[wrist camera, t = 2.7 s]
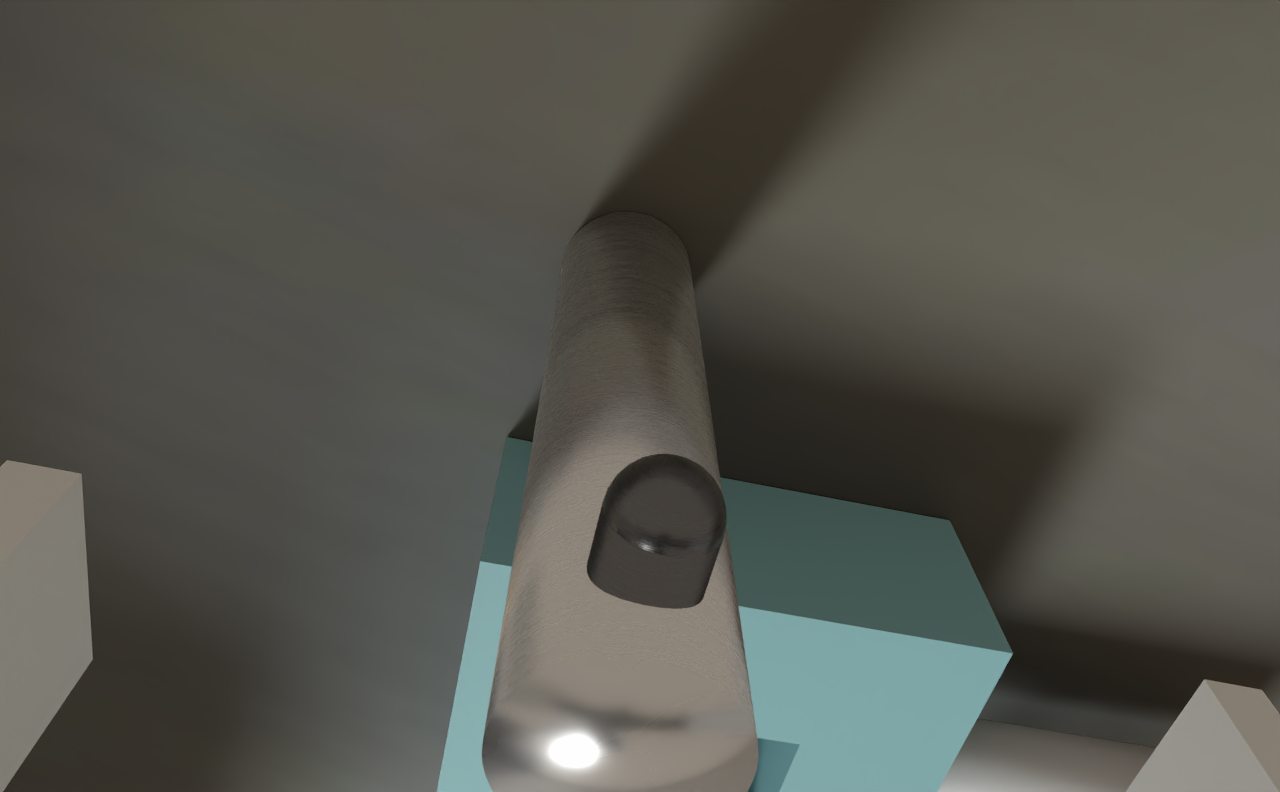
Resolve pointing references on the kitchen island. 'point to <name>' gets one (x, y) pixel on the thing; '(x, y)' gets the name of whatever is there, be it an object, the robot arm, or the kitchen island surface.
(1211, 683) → the robot arm
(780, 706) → the chuck block
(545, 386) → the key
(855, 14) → the kitchen island surface
